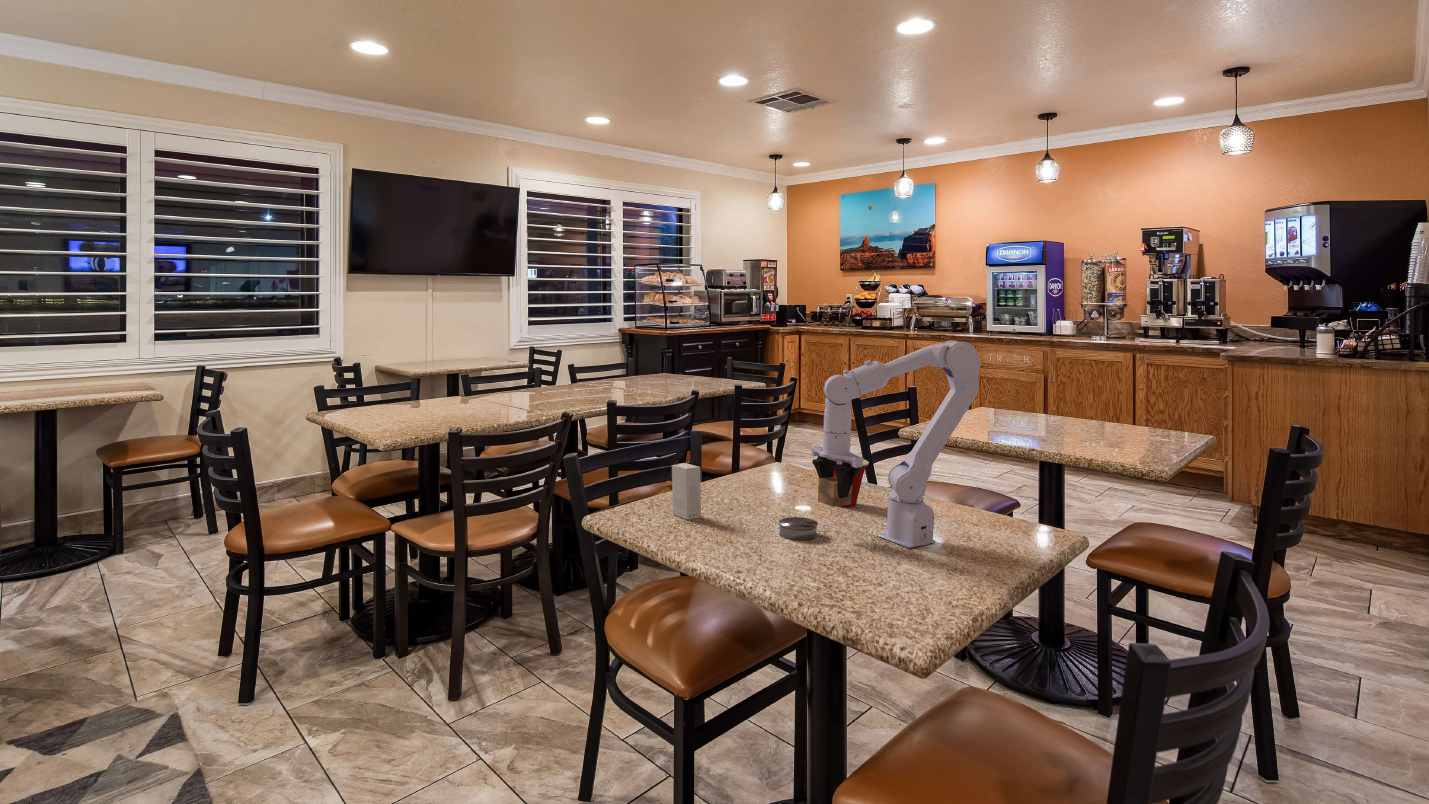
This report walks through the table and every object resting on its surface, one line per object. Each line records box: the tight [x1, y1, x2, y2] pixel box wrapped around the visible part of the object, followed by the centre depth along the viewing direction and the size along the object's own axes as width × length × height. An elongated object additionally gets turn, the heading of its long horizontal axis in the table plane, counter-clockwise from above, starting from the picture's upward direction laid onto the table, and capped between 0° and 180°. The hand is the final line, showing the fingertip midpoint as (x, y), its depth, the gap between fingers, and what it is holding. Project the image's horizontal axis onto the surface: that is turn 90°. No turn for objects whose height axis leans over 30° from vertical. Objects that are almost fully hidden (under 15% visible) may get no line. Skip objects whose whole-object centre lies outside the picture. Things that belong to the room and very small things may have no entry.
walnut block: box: [817, 476, 852, 508], centre depth 160 cm, size 5×5×5 cm
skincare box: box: [671, 462, 702, 521], centre depth 174 cm, size 6×4×12 cm
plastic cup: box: [833, 458, 870, 508], centre depth 187 cm, size 11×11×12 cm
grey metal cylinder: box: [778, 516, 819, 542], centre depth 162 cm, size 8×8×3 cm
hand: (834, 494), depth 160 cm, fingers closed on walnut block, 5 cm apart
